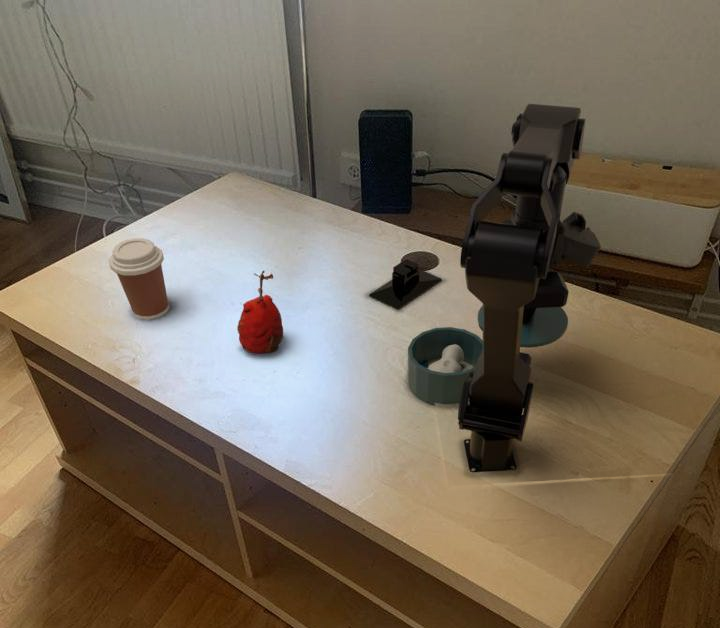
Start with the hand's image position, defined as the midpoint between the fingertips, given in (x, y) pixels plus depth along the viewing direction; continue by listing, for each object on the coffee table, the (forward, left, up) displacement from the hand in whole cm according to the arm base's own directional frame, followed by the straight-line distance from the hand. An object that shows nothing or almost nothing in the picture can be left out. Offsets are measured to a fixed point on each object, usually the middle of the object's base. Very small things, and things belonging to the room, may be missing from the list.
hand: (522, 315), depth 103 cm
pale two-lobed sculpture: (+1, +10, -12) cm, 15 cm away
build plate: (+28, +14, -12) cm, 33 cm away
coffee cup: (+26, +60, -12) cm, 67 cm away
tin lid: (0, 0, -1) cm, 1 cm away
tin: (+1, +10, -12) cm, 16 cm away
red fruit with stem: (+13, +39, -12) cm, 43 cm away
